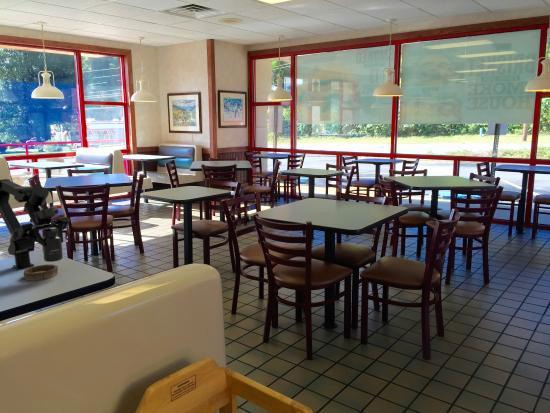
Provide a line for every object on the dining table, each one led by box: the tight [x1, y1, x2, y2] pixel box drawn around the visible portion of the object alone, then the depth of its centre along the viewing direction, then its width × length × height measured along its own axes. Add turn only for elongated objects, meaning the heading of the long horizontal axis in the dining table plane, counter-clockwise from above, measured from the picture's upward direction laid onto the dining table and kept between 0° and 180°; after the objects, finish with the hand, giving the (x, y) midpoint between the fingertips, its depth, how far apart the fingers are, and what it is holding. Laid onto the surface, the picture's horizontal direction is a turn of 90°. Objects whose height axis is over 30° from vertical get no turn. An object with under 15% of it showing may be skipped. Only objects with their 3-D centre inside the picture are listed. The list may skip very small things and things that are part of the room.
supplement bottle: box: [42, 228, 64, 263], centre depth 184 cm, size 7×7×12 cm
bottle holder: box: [22, 264, 59, 282], centre depth 187 cm, size 12×12×3 cm
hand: (54, 243), depth 183 cm, fingers closed on supplement bottle, 7 cm apart
